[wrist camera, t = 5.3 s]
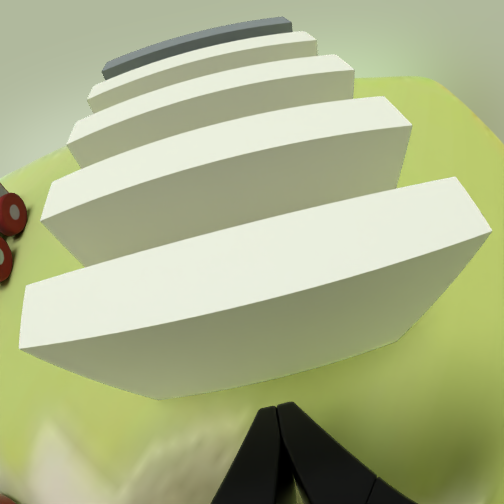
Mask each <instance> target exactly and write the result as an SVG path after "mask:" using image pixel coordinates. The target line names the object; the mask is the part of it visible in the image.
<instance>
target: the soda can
mask: <svg viewBox="0 0 504 504" xmlns="http://www.w3.org/2000/svg"><path fill="white" fill-rule="evenodd" d="M0 504H16V503H15V502H14V501H13V500H11V499H10V498H8V497H7V496H5V495H3V494H0Z"/></svg>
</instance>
